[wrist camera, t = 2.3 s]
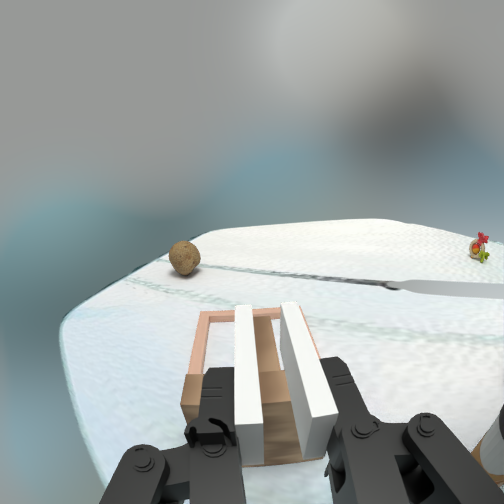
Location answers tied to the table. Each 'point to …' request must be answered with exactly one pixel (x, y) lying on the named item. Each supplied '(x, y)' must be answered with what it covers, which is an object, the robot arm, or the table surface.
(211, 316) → the dock
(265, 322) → the tee block
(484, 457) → the coffee cup
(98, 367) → the table surface
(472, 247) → the bird rattle
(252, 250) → the table surface
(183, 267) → the brown round lump
